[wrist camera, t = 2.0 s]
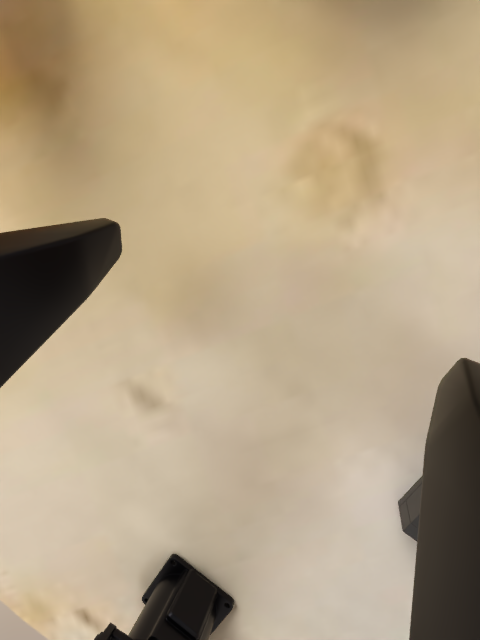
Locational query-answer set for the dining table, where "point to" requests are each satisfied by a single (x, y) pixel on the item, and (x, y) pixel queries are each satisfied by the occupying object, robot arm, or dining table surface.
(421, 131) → the dining table surface
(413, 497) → the tray
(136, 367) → the dining table surface
